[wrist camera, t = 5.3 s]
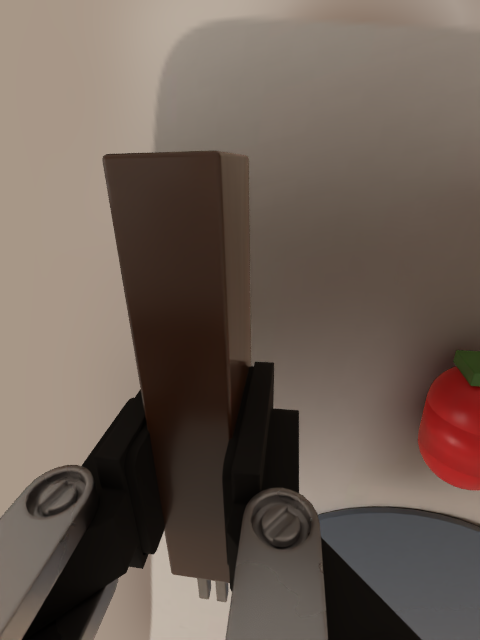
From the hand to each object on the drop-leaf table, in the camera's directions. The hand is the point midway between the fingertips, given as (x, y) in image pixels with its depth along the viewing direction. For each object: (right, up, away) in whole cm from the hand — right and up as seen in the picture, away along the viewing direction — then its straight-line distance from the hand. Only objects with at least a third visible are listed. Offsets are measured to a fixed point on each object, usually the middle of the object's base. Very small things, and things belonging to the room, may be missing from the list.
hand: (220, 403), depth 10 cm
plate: (+11, -17, +13) cm, 24 cm away
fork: (0, -1, +1) cm, 2 cm away
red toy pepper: (+11, -1, +6) cm, 12 cm away
